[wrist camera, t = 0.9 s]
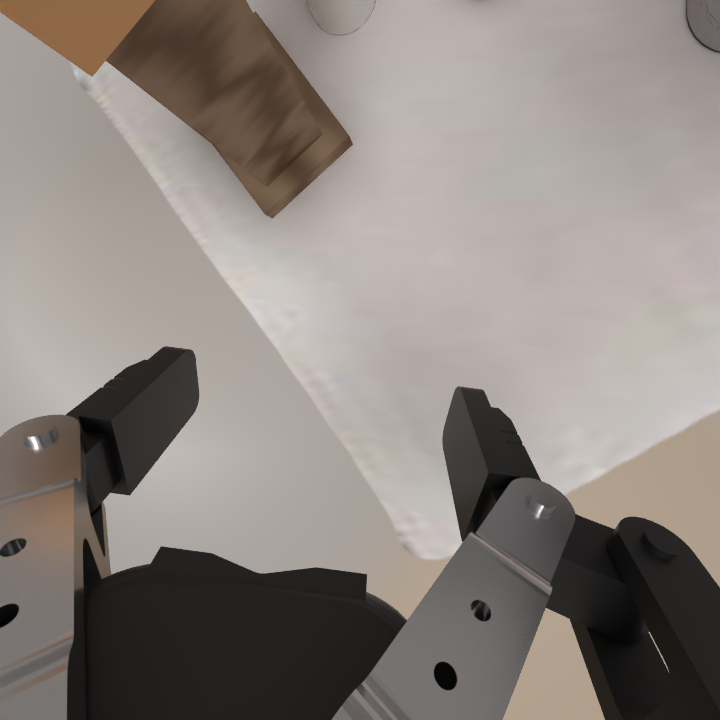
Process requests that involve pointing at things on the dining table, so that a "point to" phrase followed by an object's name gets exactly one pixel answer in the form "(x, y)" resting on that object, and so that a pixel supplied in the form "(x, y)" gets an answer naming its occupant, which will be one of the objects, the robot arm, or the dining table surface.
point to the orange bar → (78, 25)
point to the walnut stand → (234, 93)
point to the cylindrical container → (341, 14)
